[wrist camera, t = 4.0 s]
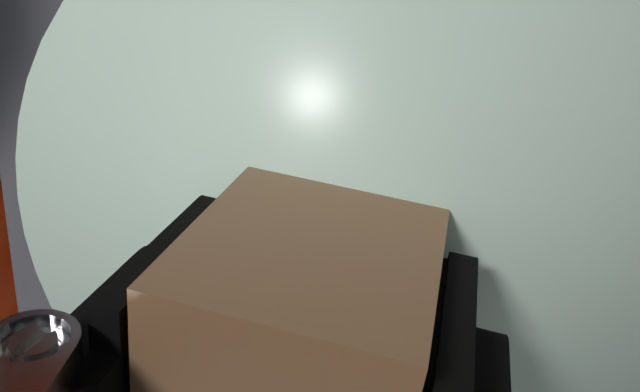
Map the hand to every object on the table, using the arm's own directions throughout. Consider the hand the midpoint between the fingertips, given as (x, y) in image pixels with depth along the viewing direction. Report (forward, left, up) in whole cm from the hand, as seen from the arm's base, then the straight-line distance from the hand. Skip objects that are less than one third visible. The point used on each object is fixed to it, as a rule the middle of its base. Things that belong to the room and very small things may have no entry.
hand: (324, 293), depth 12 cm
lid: (0, 0, -2) cm, 2 cm away
